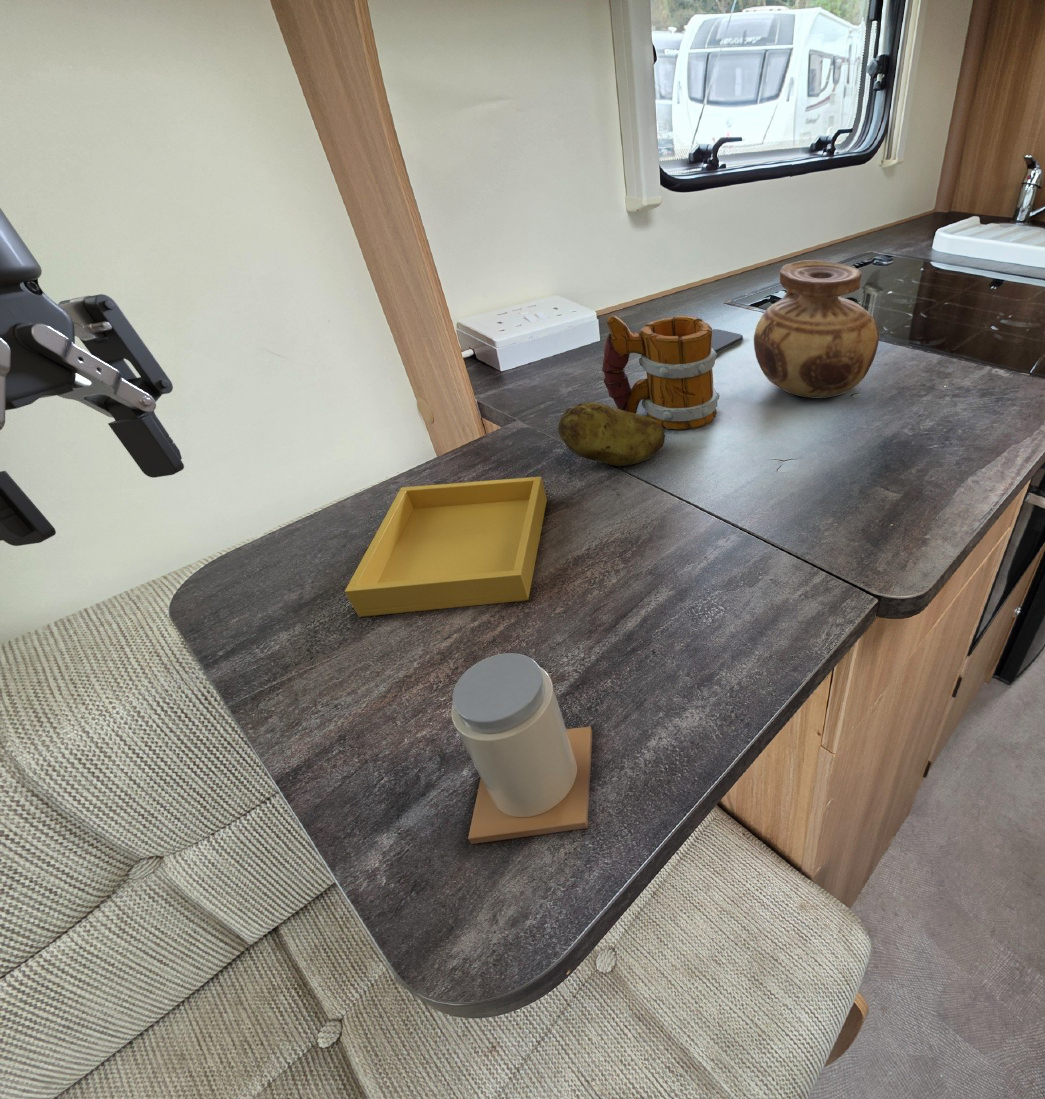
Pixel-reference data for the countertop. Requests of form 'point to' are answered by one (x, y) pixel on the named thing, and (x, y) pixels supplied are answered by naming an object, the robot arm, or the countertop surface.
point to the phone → (724, 339)
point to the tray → (452, 547)
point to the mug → (664, 370)
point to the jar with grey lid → (515, 733)
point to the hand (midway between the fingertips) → (108, 503)
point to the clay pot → (816, 332)
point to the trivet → (560, 818)
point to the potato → (610, 434)
